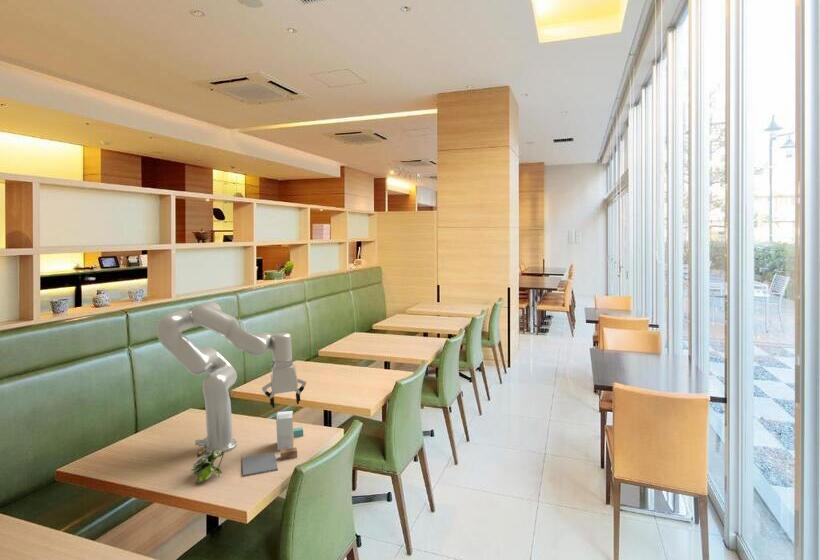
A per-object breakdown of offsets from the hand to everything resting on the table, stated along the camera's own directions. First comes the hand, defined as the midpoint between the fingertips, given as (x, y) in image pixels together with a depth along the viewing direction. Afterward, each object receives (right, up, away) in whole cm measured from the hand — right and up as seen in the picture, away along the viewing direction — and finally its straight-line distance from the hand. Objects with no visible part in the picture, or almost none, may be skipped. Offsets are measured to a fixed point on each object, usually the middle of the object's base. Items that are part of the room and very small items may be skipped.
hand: (285, 404), depth 191 cm
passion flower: (-21, -20, -22) cm, 37 cm away
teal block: (+2, -16, +11) cm, 20 cm away
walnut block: (+4, -18, -9) cm, 20 cm away
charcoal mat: (-6, -19, -14) cm, 24 cm away
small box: (0, -17, +2) cm, 17 cm away
